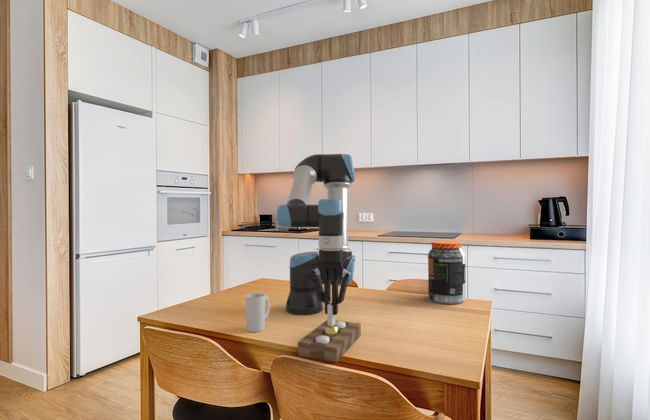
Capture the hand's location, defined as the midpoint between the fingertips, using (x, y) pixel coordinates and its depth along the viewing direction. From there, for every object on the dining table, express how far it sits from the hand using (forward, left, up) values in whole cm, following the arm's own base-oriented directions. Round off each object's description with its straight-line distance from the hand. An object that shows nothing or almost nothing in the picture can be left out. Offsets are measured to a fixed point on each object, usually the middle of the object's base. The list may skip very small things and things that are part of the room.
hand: (331, 324), depth 118 cm
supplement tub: (+28, +67, -7) cm, 73 cm away
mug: (-29, +5, -7) cm, 31 cm away
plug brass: (0, 0, -5) cm, 5 cm away
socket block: (0, 0, -6) cm, 6 cm away
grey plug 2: (0, +7, -6) cm, 9 cm away
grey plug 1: (0, -7, -6) cm, 9 cm away
